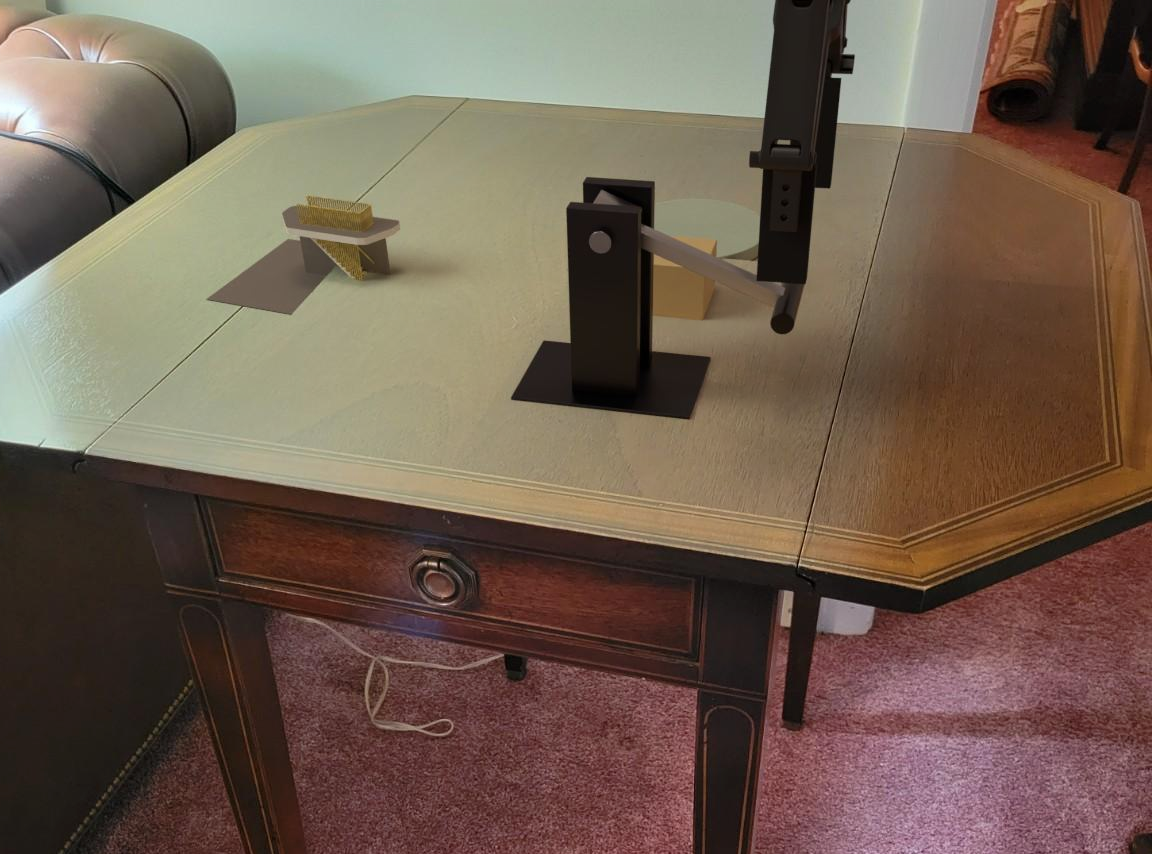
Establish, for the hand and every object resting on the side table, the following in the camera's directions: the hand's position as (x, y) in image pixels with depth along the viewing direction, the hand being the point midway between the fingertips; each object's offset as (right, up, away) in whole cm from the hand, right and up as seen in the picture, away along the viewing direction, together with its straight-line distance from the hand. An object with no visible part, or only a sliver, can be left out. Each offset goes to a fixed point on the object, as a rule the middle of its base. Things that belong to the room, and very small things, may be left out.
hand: (796, 230), depth 72 cm
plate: (-3, +8, +28) cm, 30 cm away
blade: (-6, -2, +4) cm, 7 cm away
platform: (-31, +3, +25) cm, 40 cm away
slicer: (-10, -8, +10) cm, 17 cm away
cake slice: (-5, -1, +19) cm, 20 cm away
